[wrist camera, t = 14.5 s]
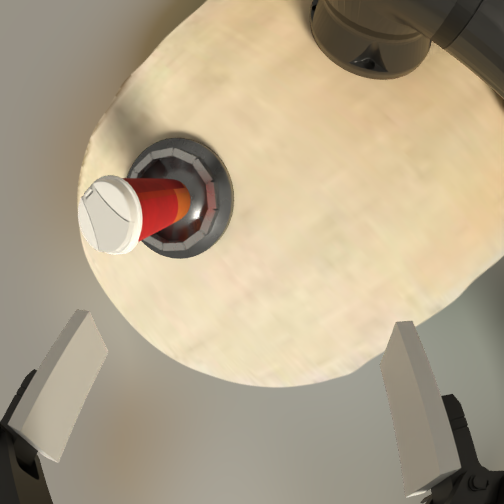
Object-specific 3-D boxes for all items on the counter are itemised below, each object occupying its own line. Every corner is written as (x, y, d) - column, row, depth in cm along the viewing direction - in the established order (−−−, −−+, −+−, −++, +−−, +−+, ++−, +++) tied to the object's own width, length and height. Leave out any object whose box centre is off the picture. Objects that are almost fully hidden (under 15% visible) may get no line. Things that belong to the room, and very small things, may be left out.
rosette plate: (188, 114, 36) (179, 111, 34) (258, 214, 38) (253, 217, 35) (112, 187, 42) (101, 188, 39) (169, 276, 43) (160, 282, 40)
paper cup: (138, 193, 40) (64, 208, 26) (177, 159, 37) (106, 158, 24) (167, 240, 40) (101, 273, 27) (210, 209, 38) (149, 231, 24)
